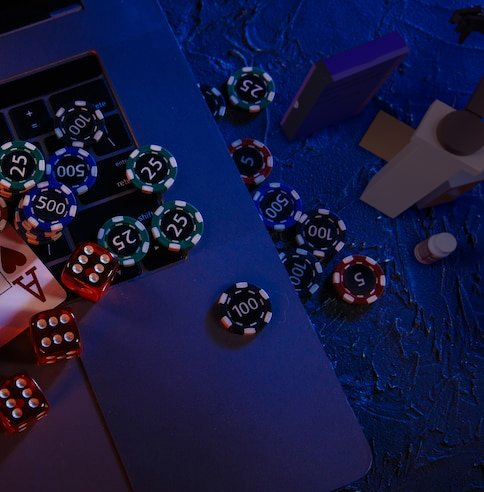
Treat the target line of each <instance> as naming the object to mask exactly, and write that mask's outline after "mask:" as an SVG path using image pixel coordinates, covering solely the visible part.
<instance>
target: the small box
mask: <svg viewBox="0 0 484 492" xmlns="http://www.w3.org/2000/svg"><path fill="white" fill-rule="evenodd" d="M483 182H484V170H483V172H482V173H480V174H479V175H477V176H476V177H474V176H472V175H471V174H469V173H467V172H465V171H464V170H461V171H459V172H458V173H456V174H455V175H454V176H452V177H451V178H449V179H448V180H447V181H445V182H444V183H442V184H441V185H440V186H438V187H437V188H435V189H434V190H433V191H431V192H430V193H428V194H427V195H426V196H424V197H423V198H421V199H420V200H419V201H417V202H416V203H415V204H416V207H417V210H423V209H426V208H429V207H434V206H437V205H441V204H445V203H450V202H453V201H455V200H456V199H457V198H459V197H461V196H462V195H464V194H466V193H467V192H469V191H470V190H472V189H473V188H475V187H477V186H479V185H480V184H482V183H483Z"/></svg>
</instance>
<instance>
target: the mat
mask: <svg viewBox="0 0 484 492" xmlns="http://www.w3.org/2000/svg"><path fill="white" fill-rule="evenodd" d="M415 131H416V129H415V128H414V127H412V126H410V125H408V124H407V123H406V122H404V121H401V120H399V119H398V118H396V117H394V116H392V115H390V114H389V113H387V112H386V111H383V110H382V109H380V110H378V113H377V114H376V116H375V117H374V119H373V120H372V122H371V124H370V125H369V127H368V129H367V130H366V132H365V133H364V135H363V137H362V138H361V140H360V142H358V146H360V147H361V148H363V149H365V150H367V151H368V152H369V153H372V154H373V155H375V156H377V157H379V158H380V159H382V160H384V161H386V162H387V163H388V162H389V161H390V160H391V159H392V158H394V157H395V156H396V155H397V154H398V153H399V152H400V151H401V150H402V149H403V148H404V147H405V146H406V145H408V144H409V143H410V142H411V140H410V139H411V138H412V136H413V134H414V133H415Z"/></svg>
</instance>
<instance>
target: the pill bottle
mask: <svg viewBox="0 0 484 492" xmlns="http://www.w3.org/2000/svg"><path fill="white" fill-rule="evenodd" d="M457 245H458V242H457V239H456V237H455V236H454V235H453V234H452V233H449V232H441V233H436V234H432V235H430V237H428V238H426V239H424V240H423V241H421V242H419V243H418V244H416V246H415V248H414V257H415V258H416V259H417V261H419V263H421V264H424V265H432V264H433V263H436V262H438V261H440V260H442V259H444V258H446V257H448V256H449V255H451V253H452V252H453V251H455V250H456V248H457Z"/></svg>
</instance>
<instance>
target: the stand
mask: <svg viewBox="0 0 484 492" xmlns="http://www.w3.org/2000/svg"><path fill="white" fill-rule="evenodd" d="M453 111H457V109H455V108H454V107H452V106H450V105H448V104H447V103H445V102H443V101H441V100H439V99H435V100H434V101H433V102H432V103H431V104H430V105H429V107H428V109H427V111H426V112H425V114H424V116H423V118H422V119H421V121H420V123H419V125H418V126H417V128H416V129H415V130H416V131H415V133H414V134H413V136H412V138H411V139H410V140H411V142H410V143H409V144H408V145H406V146H405V147H404V148H403V149H402V150H401V151H400V152H399V153H398V154H397V155H396V156H395V157H394V158H392V159H391V160H390V161H389V162H387V163H386V164H385V165H384V166H383V167H382V168H380V169H379V170H378V171H377V172H376V173H375V174H374V175H373V176H372V177H371V179H370V180H369V182H368V183H367V185H366V187H365V189H364V190H363V192H362V193H361V195H360V197H359V200H361V201H362V202H364V203H366V204H367V205H368V206H371V207H372V208H374V209H376V210H378V211H379V212H381V213H382V214H384V215H385V216H388V217H389V218H391V219H395V218H396V217H398V216H399V215H400V214H402V213H404V212H405V211H406V210H407V209H409V208H410V207H412V206H413V205H414V204H416V202H417V201H419V200H420V199H421V198H423V197H424V196H426V195H427V194H428V193H430V192H431V191H433V190H434V189H435V188H437V187H438V186H440V185H441V184H442V183H444V182H445V181H447V180H448V179H449V178H451V177H452V176H454V175H455V174H456V173H458V172H459V171H461V170H464V171H465V172H467V173H469V174H471V175H472V176H474V177H476V176H477V175H479V174H480V173H482V172H483V170H484V146H483V147H482V148H481V149H479V150H478V151H477V152H475V153H474V154H471V155H468V156H457V155H454V154H451V153H449V152H448V151H446V150H445V149H444V148H443V147H442V146H441V145H440V143H439V141H438V139H437V136H436V129H437V125H438V123H439V122H440V121H441V120H442V119H443V118H444V117H445V116H446V115H447V114H449V113H450V112H453Z"/></svg>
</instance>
